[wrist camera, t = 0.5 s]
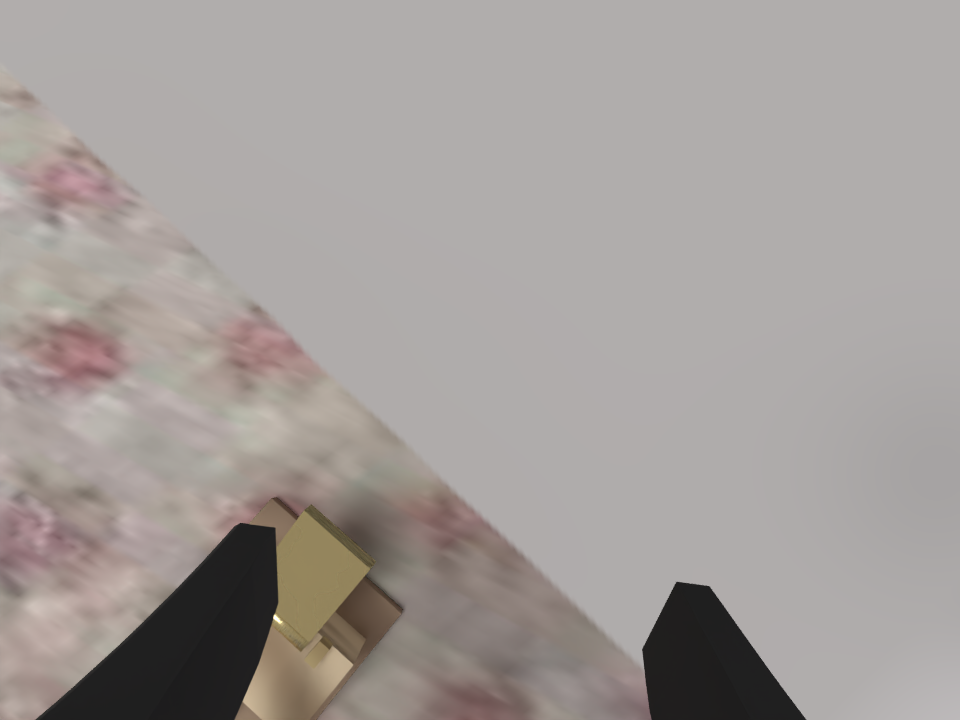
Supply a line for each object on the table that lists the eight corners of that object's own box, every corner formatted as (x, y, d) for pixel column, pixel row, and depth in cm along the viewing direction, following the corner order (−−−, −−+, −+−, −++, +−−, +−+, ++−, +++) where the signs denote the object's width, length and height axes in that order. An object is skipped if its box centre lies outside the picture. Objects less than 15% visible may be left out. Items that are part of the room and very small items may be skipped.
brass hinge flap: (308, 643, 30) (297, 656, 30) (248, 589, 31) (236, 599, 30) (377, 560, 28) (368, 570, 27) (313, 503, 29) (302, 511, 28)
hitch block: (236, 816, 34) (185, 899, 27) (104, 690, 34) (25, 743, 28) (402, 609, 36) (392, 640, 30) (276, 497, 37) (239, 504, 31)
